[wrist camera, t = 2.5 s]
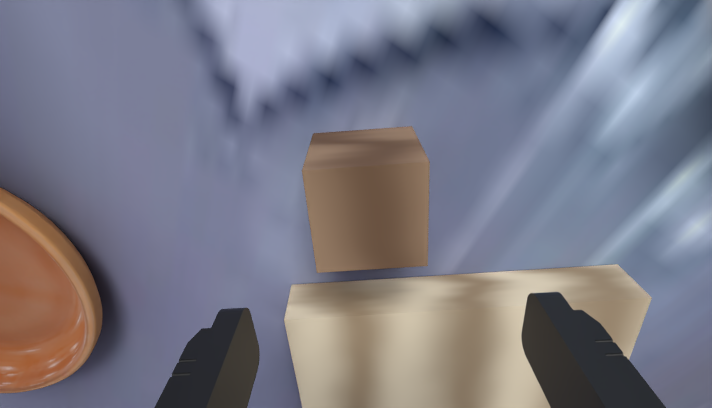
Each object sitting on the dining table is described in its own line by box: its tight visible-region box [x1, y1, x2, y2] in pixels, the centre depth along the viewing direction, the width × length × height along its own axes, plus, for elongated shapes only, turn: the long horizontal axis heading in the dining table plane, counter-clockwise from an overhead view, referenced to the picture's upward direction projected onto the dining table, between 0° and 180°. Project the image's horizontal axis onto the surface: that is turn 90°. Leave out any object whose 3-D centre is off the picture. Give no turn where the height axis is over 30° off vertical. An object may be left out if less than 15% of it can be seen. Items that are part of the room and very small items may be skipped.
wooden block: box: [284, 264, 652, 408], centre depth 25 cm, size 20×14×3 cm
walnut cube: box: [302, 126, 430, 273], centre depth 18 cm, size 5×5×5 cm
